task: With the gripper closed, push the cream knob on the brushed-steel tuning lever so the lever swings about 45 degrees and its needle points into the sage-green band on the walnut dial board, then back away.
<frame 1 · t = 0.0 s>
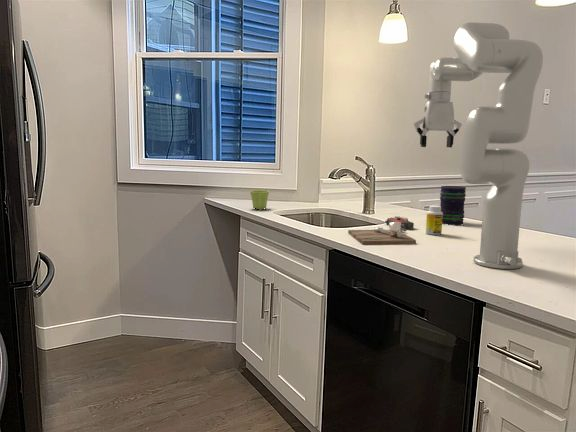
hand: (436, 147, 176), 31 cm above the worktop, tool pointing down, fingers open, 9 cm apart
storage jar: (450, 223, 202), on the worktop
tuning lever: (388, 227, 170), point 4 cm above the worktop, hinge at 20.0°
plant pot: (259, 209, 235), on the worktop
walkie-talkie: (400, 229, 189), on the worktop
dial board: (378, 235, 175), on the worktop
supplement bottle: (433, 234, 179), on the worktop
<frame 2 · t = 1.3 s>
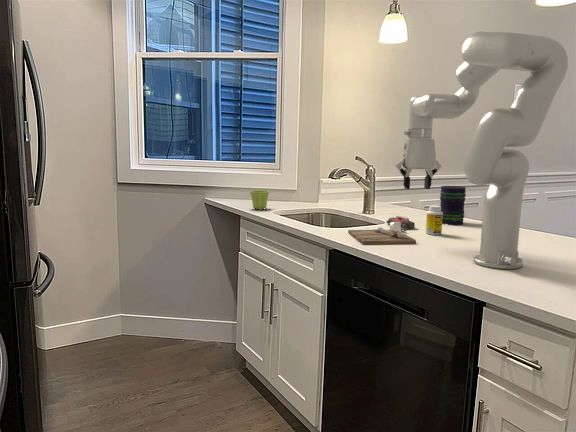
hand: (417, 188, 165), 18 cm above the worktop, tool pointing down, fingers open, 6 cm apart
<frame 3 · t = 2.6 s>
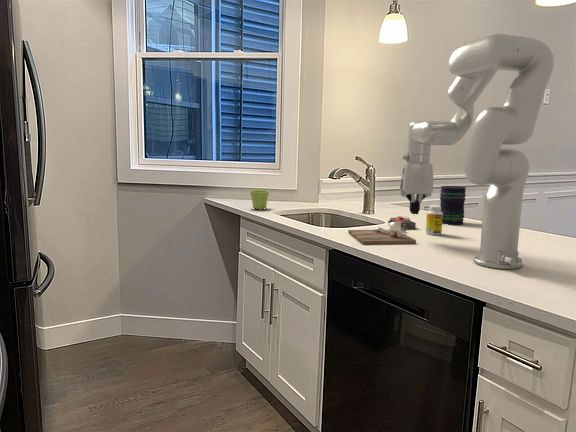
hand: (414, 213, 167), 9 cm above the worktop, tool pointing down, fingers closed
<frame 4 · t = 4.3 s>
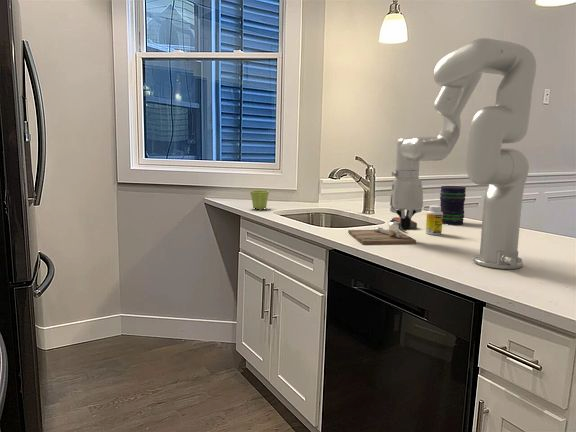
hand: (405, 229, 167), 4 cm above the worktop, tool pointing down, fingers closed
tuning lever: (388, 227, 169), point 4 cm above the worktop, hinge at 17.6°, touching gripper
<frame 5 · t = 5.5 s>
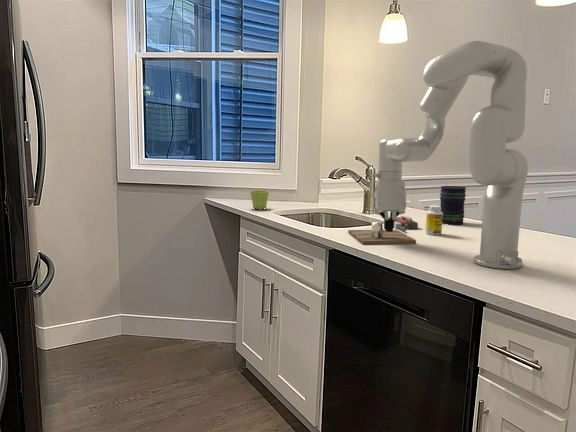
hand: (388, 231, 165), 3 cm above the worktop, tool pointing down, fingers closed
tuning lever: (377, 227, 169), point 4 cm above the worktop, hinge at -21.5°, touching gripper
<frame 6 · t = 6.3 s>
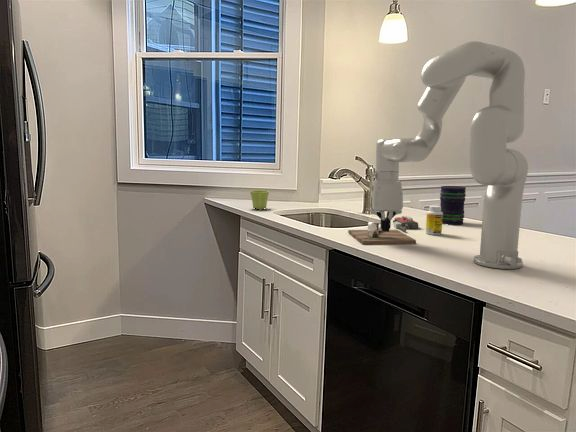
hand: (385, 231, 166), 3 cm above the worktop, tool pointing down, fingers closed
tuning lever: (375, 227, 169), point 4 cm above the worktop, hinge at -29.4°, touching gripper
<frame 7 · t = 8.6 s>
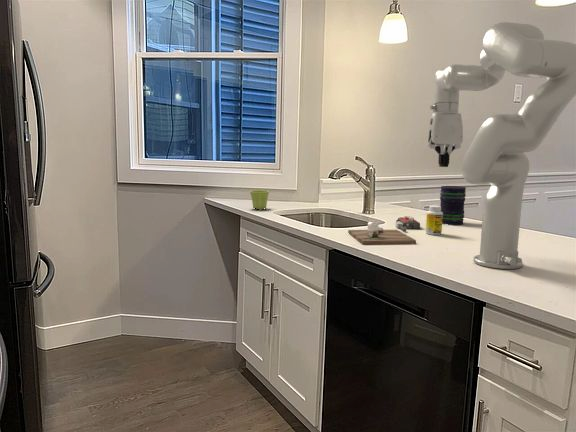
hand: (443, 166, 160), 25 cm above the worktop, tool pointing down, fingers closed
tuning lever: (375, 227, 169), point 4 cm above the worktop, hinge at -29.9°
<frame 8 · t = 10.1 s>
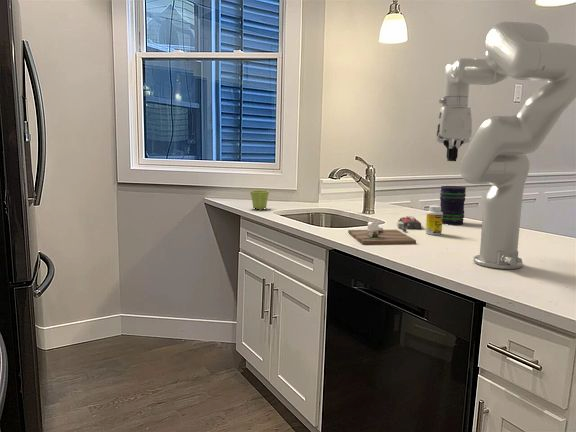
hand: (451, 160, 159), 27 cm above the worktop, tool pointing down, fingers closed
at the end: tuning lever at -30° (first picture: +20°); supplement bottle moved 0.2 cm from its start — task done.
